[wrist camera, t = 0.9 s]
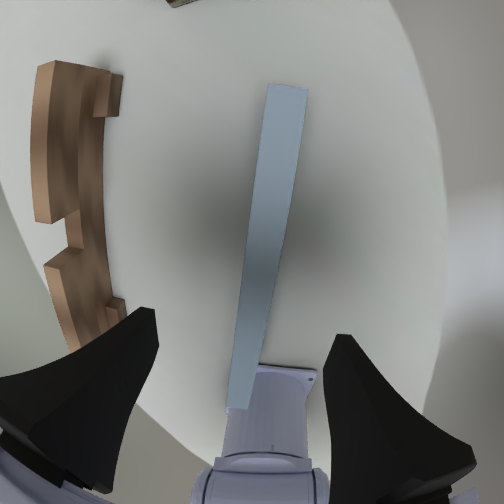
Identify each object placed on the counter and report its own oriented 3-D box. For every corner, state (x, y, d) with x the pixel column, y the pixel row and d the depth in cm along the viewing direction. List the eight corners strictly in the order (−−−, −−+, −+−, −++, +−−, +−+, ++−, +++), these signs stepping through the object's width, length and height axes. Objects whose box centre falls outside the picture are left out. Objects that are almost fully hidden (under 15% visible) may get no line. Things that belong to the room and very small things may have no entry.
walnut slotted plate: (129, 329, 23) (101, 374, 18) (95, 319, 24) (65, 359, 18) (124, 69, 14) (70, 55, 9) (81, 76, 14) (26, 70, 9)
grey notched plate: (270, 100, 15) (268, 83, 9) (296, 104, 15) (308, 89, 9) (235, 351, 23) (225, 406, 18) (253, 354, 23) (247, 409, 18)
